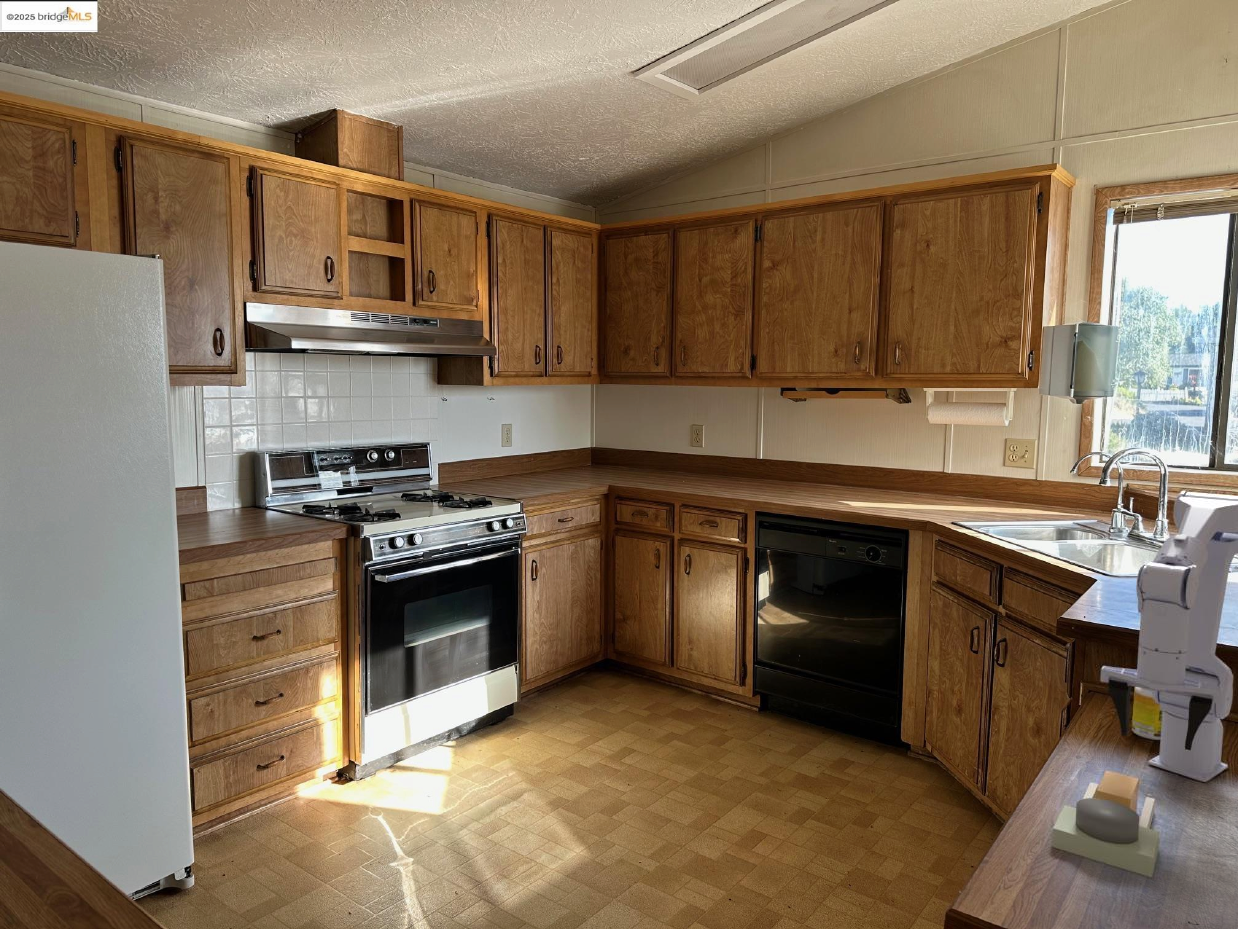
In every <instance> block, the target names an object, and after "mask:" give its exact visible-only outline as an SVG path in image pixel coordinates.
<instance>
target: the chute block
mask: <svg viewBox="0 0 1238 929" xmlns="http://www.w3.org/2000/svg"><path fill="white" fill-rule="evenodd" d="M1139 783H1140V778H1137V777H1133V776H1130V775H1127V774H1122V773H1118V772H1114V771H1110V770H1106V771H1105V772H1104V775H1103V777H1102V778H1101V780H1100V782H1099V784H1098V788H1097V791H1096V798H1097V799H1104V800H1109V801H1113V802H1116V803H1119V804H1122V805H1124V806H1126V807H1128V808H1130V809H1132V810H1133V811H1134V812H1137V810H1138V800H1139V799H1138V797H1139V795H1138V794H1139ZM1137 813H1138V812H1137Z"/></svg>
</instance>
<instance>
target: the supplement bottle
mask: <svg viewBox="0 0 1238 929" xmlns="http://www.w3.org/2000/svg"><path fill="white" fill-rule="evenodd" d="M1133 694H1134V695H1133V706H1132V707H1133V708H1132V721H1131V730H1132V732H1133V733H1134V734H1136V735H1137V736H1139V737H1141V738H1145V739H1148V740H1149V739H1150V740H1154V741H1155V740H1156V741H1161V727H1162V713H1163V710H1160V709H1159V706H1160V704H1158V703H1156V702H1155V700H1154V699H1153V697H1152V693H1151V690H1150V689H1144V688H1139V687H1134V693H1133Z"/></svg>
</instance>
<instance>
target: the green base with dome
mask: <svg viewBox="0 0 1238 929" xmlns="http://www.w3.org/2000/svg"><path fill="white" fill-rule="evenodd" d="M1098 786H1099V784H1098V783H1097V782H1096V783H1095V782H1093V781H1092V782H1089V785H1088V787H1087V789H1086V791H1085V793H1084V796H1083V797H1082V799H1079V800H1077V802H1076V807H1073V806H1070V805H1066V804H1065V805H1063V807H1062V809H1061V811H1060V812H1059V813H1060V814H1059V815H1058V817H1057V820H1056V822H1055V823H1054V825H1053V827H1052V839H1051V847H1052V848H1055V849H1057V850H1061V851H1064V852H1068V853H1071V854H1074V855H1077V856H1081V857H1084V858H1088V859H1091V860H1094V861H1097V862H1101V863H1104V864H1107V865H1109V866H1114V867H1117V868H1120V869H1122V870H1123V869H1124V870H1126V871H1130V872H1132V873H1135V874H1138V875H1143V876H1145V877H1150V878H1153V874H1154V871H1155V867H1156V862H1157V857H1158V854H1159V850H1160V849H1159V848H1160V845H1159V844H1160V836H1161V833H1160V832H1161V831H1159V830H1156V829H1153V828H1151V825H1152V821H1153V818H1154V814H1155V804H1156V799H1155V798H1153V797H1150V796H1146V797H1145V801H1144V804H1143V808H1142V811H1141V814H1140V816H1139V814H1137V813H1138V812H1137V813H1136V812H1134V811H1133V810H1132V809H1130V808H1128V807H1126V806H1124V805H1122V804H1119V803H1116V802H1113V801H1109V800H1104V799H1097V798H1096V791H1097V788H1098Z"/></svg>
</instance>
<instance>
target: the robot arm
mask: <svg viewBox="0 0 1238 929" xmlns="http://www.w3.org/2000/svg"><path fill="white" fill-rule="evenodd" d="M1173 521H1174V524H1175V528H1176V530H1177V531H1176V532H1177V534H1174V535H1171V536H1169V537H1167V538H1166V540H1165V541H1164V542H1163V543H1162V546H1161V547H1160V549H1159V550H1158V552H1157V554H1156V556H1154V557H1155V558H1154V559H1153V561H1149V562H1148V563H1147V564H1142V565H1141V566H1140V567H1139V570H1138V574H1137V578H1136V586H1135V587H1136V588H1135V589H1136V591H1135V592H1136V597H1137V613H1139V614H1140V619H1139V620H1140V624H1139V637H1138V652H1137V667H1136V669H1133V668H1132V669H1131V668H1123V667H1113V666H1107V665H1103V666H1102V667H1101V668H1100V680H1099V681H1100V682H1101V683H1108V687H1107V692H1108V694H1109V696H1110V699H1111V700H1112V703H1113V706H1114V707H1115V708H1114V709H1115V711H1116V714H1117V717H1118V720H1119V725H1120V735H1121V736H1126V737H1128V734H1129V727H1130V700H1131V690H1132V687H1134V688H1135V687H1139V688H1144V689H1150V690H1151V693H1152V697H1153V699H1154V700H1155V702H1156V703H1158V704H1160V706H1159V709H1160V710H1163V713H1162V727H1161V740H1159V741H1160V744H1159V755H1157V756H1155V757H1153V758H1152V759H1150V760H1148V764H1149V765H1151V766H1154V767H1157V768H1160V769H1163V770H1166V771H1169V772H1172V773H1175V774H1179V775H1181V776H1185V777H1188V778H1190V779H1193V780H1197V781H1199V782H1205V783H1206V782H1208V781H1209V780H1211V779H1212V778H1214V777H1216V776H1217V775H1219V774H1220V773H1222V772H1223V771H1225V770H1226V769H1227V768H1228V767H1229V765H1228V764H1227V763H1223V762H1222V750H1223V735H1224V726H1223V723H1222V721H1221V720H1223V719H1225V718H1226V717H1228V716H1229V715H1230V711H1231V708H1232V704H1233V696H1234V693H1233V692H1234V687H1233V684H1234V674H1233V673H1232V669H1231V668H1230V667H1229V666H1228V665H1227V664H1226V663H1225V662H1223V660H1221V659H1220V658H1219V657H1218V656H1217V655H1216V649H1217V644H1218V637H1219V632H1220V626H1221V619H1222V614H1223V607H1224V602H1225V596H1226V589H1227V583H1228V579H1229V578H1228V576H1229V573H1230V572H1229V571H1230V567H1231V565H1232V562H1233V559H1234V558H1235V555H1237V554H1238V495H1231V494H1221V493H1220V494H1219V493H1208V492H1207V493H1206V492H1197V491H1196V492H1195V491H1192V492H1191V491H1188V490H1182V491H1180V492H1179V493H1178V494H1177V495H1176V497H1175V500H1174V505H1173Z"/></svg>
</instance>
